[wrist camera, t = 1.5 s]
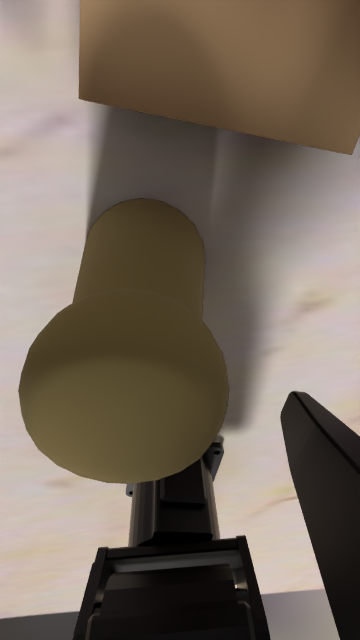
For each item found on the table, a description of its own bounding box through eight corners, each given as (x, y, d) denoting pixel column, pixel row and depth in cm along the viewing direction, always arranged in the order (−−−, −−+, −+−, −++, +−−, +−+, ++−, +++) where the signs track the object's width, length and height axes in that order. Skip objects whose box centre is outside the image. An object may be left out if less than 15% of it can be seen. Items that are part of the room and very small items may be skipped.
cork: (183, 178, 15) (219, 277, 5) (219, 293, 18) (282, 488, 8) (61, 224, 15) (-99, 381, 6) (115, 326, 18) (64, 538, 9)
